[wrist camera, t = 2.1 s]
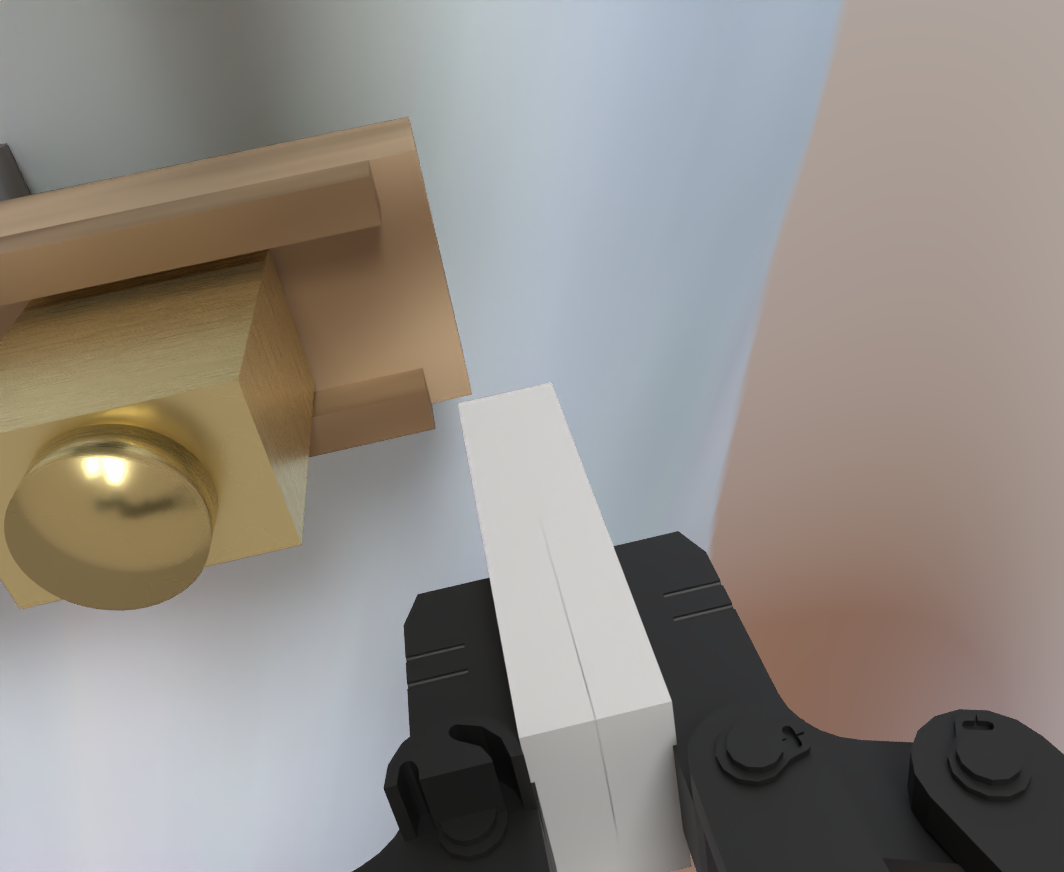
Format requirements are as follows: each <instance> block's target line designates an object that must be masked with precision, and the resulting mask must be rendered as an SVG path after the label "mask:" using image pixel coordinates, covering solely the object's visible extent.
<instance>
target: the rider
mask: <svg viewBox="0 0 1064 872" xmlns="http://www.w3.org/2000/svg"><path fill="white" fill-rule="evenodd" d="M314 387H315V383H314V380H313V377H312V374H311V371H310V368H309V366H308V363H307V360H306V357H305V354H304V351H303V348H302V345H301V342H300V339H299V336H298V333H297V330H296V327H295V324H294V321H293V318H292V315H291V312H290V309H289V306H288V303H287V300H286V297H285V294H284V291H283V289H282V286H281V283H280V280H279V277H278V274H277V271H276V268H275V265H274V262H273V259H272V256H271V253H270V250H269V249H265V250H261V251H256V252H251V253H247V254H242V255H237V256H232V257H228V258H223V259H218V260H214V261H209V262H204V263H200V264H195V265H190V266H186V267H181V268H176V269H171V270H167V271H162V272H157V273H153V274H148V275H143V276H139V277H134V278H129V279H125V280H120V281H115V282H110V283H106V284H101V285H96V286H92V287H87V288H82V289H78V290H73V291H68V292H64V293H59V294H54V295H49V296H45V297H40V298H35V299H31V300H30V302H29V303H28V305H27V306H26V307H25V309H24V310H23V311H22V313H21V314H20V315H19V317H18V318H17V319H16V321H15V322H14V323H13V325H12V326H11V327H10V329H9V330H8V331H7V333H6V334H5V335H4V337H3V338H2V339H1V341H0V579H1V581H2V582H3V584H4V585H5V587H6V588H7V590H8V591H9V593H10V595H11V596H12V598H13V599H14V601H15V602H16V604H17V605H18V607H19V609H24V608H28V607H32V606H37V605H41V604H46V603H50V602H54V601H59V600H63V599H64V600H66V601H69V602H71V603H74V604H78V605H81V606H85V607H90V608H95V609H103V610H132V609H139V608H145V607H149V606H152V605H156V604H159V603H162V602H164V601H166V600H169V599H171V598H173V597H174V596H176V595H178V594H180V593H181V592H182V591H184V590H185V589H186V588H188V587H189V586H190V585H191V584H192V583H193V582H194V581H195V580H196V578H197V577H198V576H199V575H200V573H201V572H202V570H203V568H204V567H207V566H211V565H215V564H220V563H224V562H229V561H233V560H237V559H242V558H246V557H250V556H255V555H259V554H263V553H268V552H272V551H276V550H281V549H285V548H290V547H294V546H298V545H302V537H303V525H304V512H305V500H306V487H307V475H308V462H309V450H310V437H311V425H312V412H313V400H314Z"/></svg>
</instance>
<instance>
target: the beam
mask: <svg viewBox="0 0 1064 872" xmlns="http://www.w3.org/2000/svg"><path fill="white" fill-rule="evenodd" d="M265 249H269V250H270V253H271V256H272V259H273V262H274V265H275V268H276V271H277V274H278V277H279V280H280V283H281V286H282V289H283V291H284V294H285V297H286V300H287V303H288V306H289V309H290V312H291V315H292V318H293V321H294V324H295V327H296V330H297V333H298V336H299V339H300V342H301V345H302V348H303V351H304V354H305V357H306V360H307V363H308V366H309V368H310V371H311V374H312V377H313V380H314V383H315V387H314V400H313V412H312V425H311V437H310V450H309V457H312V456H317V455H321V454H325V453H330V452H334V451H339V450H343V449H348V448H352V447H357V446H361V445H366V444H370V443H374V442H379V441H383V440H388V439H392V438H397V437H401V436H406V435H410V434H414V433H419V432H423V431H428V430H432V429H435V423H434V416H433V409H432V403H435V402H440V401H444V400H449V399H453V398H458V397H462V396H467V395H471V394H472V393H471V388H470V384H469V379H468V374H467V370H466V365H465V361H464V356H463V351H462V347H461V342H460V338H459V333H458V329H457V325H456V320H455V316H454V312H453V307H452V303H451V299H450V294H449V290H448V285H447V281H446V277H445V272H444V268H443V264H442V259H441V255H440V251H439V246H438V242H437V238H436V233H435V229H434V224H433V220H432V216H431V211H430V207H429V203H428V198H427V194H426V190H425V185H424V181H423V176H422V172H421V168H420V163H419V159H418V155H417V150H416V146H415V142H414V137H413V133H412V128H411V124H410V120H409V117H405V118H400V119H395V120H391V121H386V122H381V123H376V124H371V125H366V126H362V127H357V128H352V129H347V130H342V131H338V132H333V133H328V134H323V135H318V136H313V137H309V138H304V139H299V140H294V141H289V142H285V143H280V144H275V145H270V146H265V147H260V148H256V149H251V150H246V151H241V152H236V153H231V154H227V155H222V156H217V157H212V158H207V159H203V160H198V161H193V162H188V163H183V164H178V165H174V166H169V167H164V168H159V169H154V170H150V171H145V172H140V173H135V174H130V175H125V176H121V177H116V178H111V179H106V180H101V181H97V182H92V183H87V184H82V185H77V186H72V187H68V188H63V189H58V190H53V191H48V192H44V193H39V194H34V195H31V194H30V192H29V190H28V188H27V186H26V184H25V182H24V179H23V177H22V175H21V173H20V171H19V169H18V167H17V165H16V163H15V160H14V158H13V156H12V154H11V152H10V150H9V148H8V146H7V143H6V144H1V145H0V341H1V339H2V338H3V337H4V335H5V334H6V333H7V331H8V330H9V329H10V327H11V326H12V325H13V323H14V322H15V321H16V319H17V318H18V317H19V315H20V314H21V313H22V311H23V310H24V309H25V307H26V306H27V305H28V303H29V302H30V300H31V299H35V298H40V297H45V296H49V295H54V294H59V293H64V292H68V291H73V290H78V289H82V288H87V287H92V286H96V285H101V284H106V283H110V282H115V281H120V280H125V279H129V278H134V277H139V276H143V275H148V274H153V273H157V272H162V271H167V270H171V269H176V268H181V267H186V266H190V265H195V264H200V263H204V262H209V261H214V260H218V259H223V258H228V257H232V256H237V255H242V254H247V253H251V252H256V251H261V250H265Z"/></svg>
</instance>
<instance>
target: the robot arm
mask: <svg viewBox="0 0 1064 872" xmlns="http://www.w3.org/2000/svg"><path fill="white" fill-rule="evenodd" d="M458 409H459V414H460V419H461V425H462V430H463V436H464V441H465V447H466V452H467V458H468V463H469V468H470V474H471V479H472V485H473V490H474V496H475V501H476V507H477V512H478V518H479V523H480V528H481V534H482V539H483V545H484V550H485V556H486V561H487V567H488V572H489V577H490V578H486V579H482V580H478V581H473V582H469V583H465V584H460V585H456V586H452V587H448V588H443V589H439V590H435V591H430V592H426V593H422V594H418V595H417V597H416V600H415V602H414V604H413V606H412V608H411V611H410V613H409V615H408V617H407V619H406V622H405V624H404V637H405V655H406V661H407V663H406V673H407V684H408V689H407V690H408V708H409V725H410V737H409V738H408V739H407V740H405V741H404V742H403V743H402V744H401V746H400V747H399V749H398V750H397V752H396V753H395V755H394V756H393V758H392V760H391V761H390V763H389V764H388V768H387V773H386V778H385V784H384V791H385V793H386V796H387V798H388V801H389V803H390V806H391V809H392V811H393V814H394V816H395V819H396V821H397V824H398V826H399V831H398V832H397V834H396V836H395V837H394V838H393V839H392V840H391V841H390V842H389V844H388V845H387V846H386V847H385V848H384V849H383V850H382V851H381V852H380V853H379V854H378V855H376V856H375V857H373V858H372V859H371V860H369V861H368V862H366V863H365V864H364V865H362V866H361V867H359V868H357V869H356V870H354V871H352V872H671V871H675V870H679V869H683V868H687V867H691V860H690V853H691V856H692V859H693V862H694V865H695V867H696V871H697V872H1064V754H1063V753H1061V752H1060V751H1059V750H1058V749H1057V748H1056V747H1054V746H1053V745H1052V744H1051V743H1050V742H1049V741H1047V740H1046V739H1045V738H1044V737H1043V736H1041V735H1040V734H1038V733H1037V732H1035V731H1033V730H1032V729H1030V728H1029V727H1027V726H1026V725H1024V724H1022V723H1021V722H1019V721H1018V720H1015V719H1013V718H1009V717H1006V716H1003V715H1000V714H997V713H994V712H991V711H986V710H962V709H959V710H956V711H952V712H948V713H945V714H941V715H938V716H935V717H934V718H932V719H931V720H930V721H929V722H928V723H926V724H925V725H924V726H923V727H922V728H920V729H919V730H918V732H917V734H916V737H915V740H914V743H911V742H889V741H869V740H857V739H850V738H843V737H839V736H835V735H833V734H829V733H827V732H823V731H821V730H819V729H817V728H815V727H813V726H812V725H810V724H808V723H806V722H805V721H804V720H803V719H800V718H799V717H798V716H797V715H796V714H794V713H793V712H792V711H791V710H790V709H789V708H788V707H787V705H786V704H785V703H784V701H783V700H782V698H781V697H780V695H779V694H778V692H777V690H776V688H775V686H774V684H773V682H772V680H771V678H770V677H769V675H768V673H767V671H766V669H765V667H764V665H763V663H762V661H761V659H760V657H759V655H758V653H757V651H756V649H755V647H754V645H753V643H752V641H751V639H750V637H749V635H748V634H747V632H746V630H745V628H744V626H743V624H742V622H741V620H740V618H739V616H738V614H737V612H736V610H735V609H733V607H732V602H731V600H730V598H729V597H728V595H727V592H726V591H725V589H724V587H723V586H722V585H721V582H720V579H719V577H718V575H717V573H716V571H715V569H714V567H713V565H712V563H711V561H710V559H709V557H708V555H707V553H706V552H705V551H704V550H702V549H701V548H700V547H698V546H697V545H696V544H694V543H693V542H692V541H690V540H689V539H688V538H686V537H685V536H684V535H682V534H681V533H680V532H678V531H677V532H673V533H669V534H665V535H660V536H656V537H652V538H647V539H643V540H639V541H635V542H630V543H626V544H622V545H617V546H613V544H612V541H611V539H610V536H609V533H608V531H607V528H606V525H605V523H604V520H603V518H602V515H601V512H600V510H599V507H598V504H597V502H596V499H595V496H594V494H593V491H592V488H591V486H590V483H589V480H588V478H587V475H586V473H585V470H584V467H583V465H582V462H581V459H580V457H579V454H578V451H577V449H576V446H575V443H574V441H573V438H572V435H571V433H570V430H569V427H568V425H567V422H566V420H565V417H564V414H563V412H562V409H561V406H560V404H559V401H558V398H557V396H556V393H555V390H554V388H553V385H552V382H551V383H546V384H542V385H537V386H533V387H528V388H524V389H519V390H515V391H510V392H506V393H501V394H497V395H492V396H488V397H484V398H479V399H475V400H470V401H466V402H461V403H458ZM689 850H690V851H689Z"/></svg>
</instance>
